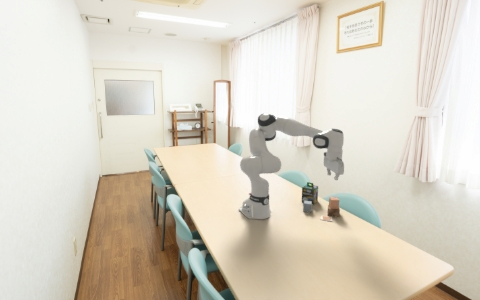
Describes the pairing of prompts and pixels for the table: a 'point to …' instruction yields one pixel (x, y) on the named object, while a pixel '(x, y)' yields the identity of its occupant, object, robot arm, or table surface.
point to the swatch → (326, 218)
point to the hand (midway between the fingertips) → (332, 177)
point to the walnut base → (333, 212)
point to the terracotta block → (333, 203)
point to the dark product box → (310, 193)
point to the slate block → (307, 206)
